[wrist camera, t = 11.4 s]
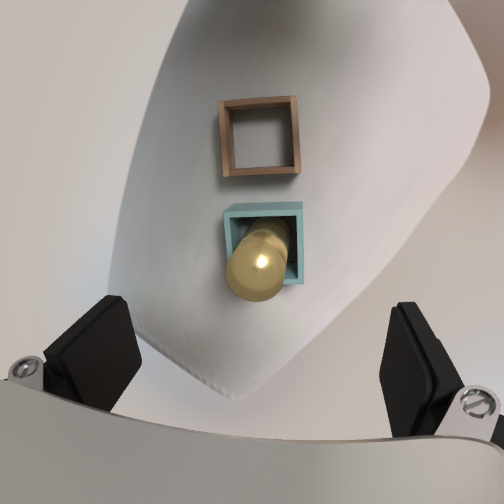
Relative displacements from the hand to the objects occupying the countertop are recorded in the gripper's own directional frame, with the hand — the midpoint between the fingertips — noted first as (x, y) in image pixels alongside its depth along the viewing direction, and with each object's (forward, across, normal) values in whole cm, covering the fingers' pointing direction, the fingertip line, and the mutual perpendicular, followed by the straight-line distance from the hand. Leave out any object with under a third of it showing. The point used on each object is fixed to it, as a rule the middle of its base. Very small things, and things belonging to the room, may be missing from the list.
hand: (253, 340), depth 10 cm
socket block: (+21, +2, -7) cm, 22 cm away
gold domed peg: (+21, +2, +2) cm, 21 cm away
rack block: (+21, +2, +2) cm, 21 cm away
